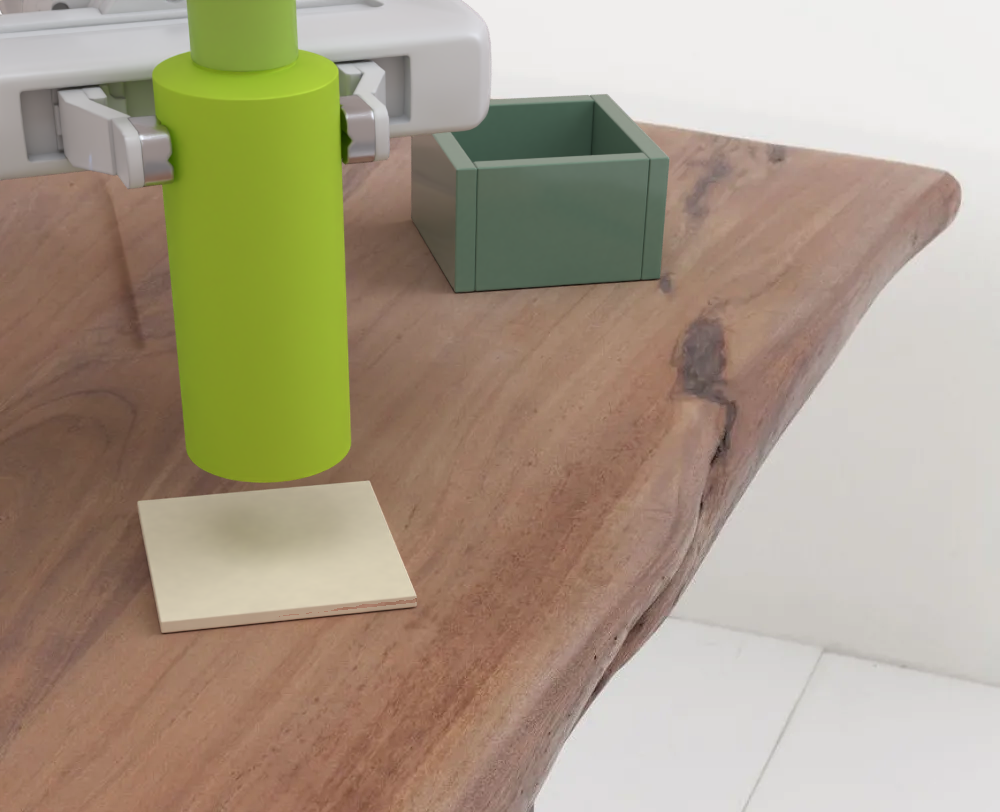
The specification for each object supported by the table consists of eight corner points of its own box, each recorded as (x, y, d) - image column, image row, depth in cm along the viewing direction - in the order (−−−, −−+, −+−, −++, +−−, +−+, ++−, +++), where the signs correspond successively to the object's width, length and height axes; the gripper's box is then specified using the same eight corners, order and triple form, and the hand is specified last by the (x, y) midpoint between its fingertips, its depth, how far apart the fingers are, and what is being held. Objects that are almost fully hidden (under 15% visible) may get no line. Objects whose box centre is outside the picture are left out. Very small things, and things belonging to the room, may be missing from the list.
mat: (161, 633, 65) (160, 621, 65) (137, 512, 72) (136, 500, 72) (417, 607, 67) (417, 595, 67) (369, 491, 74) (369, 479, 74)
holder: (454, 293, 91) (456, 169, 87) (410, 218, 99) (410, 102, 95) (660, 279, 93) (670, 157, 89) (601, 207, 101) (607, 93, 97)
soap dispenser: (216, 508, 64) (163, -138, 52) (169, 422, 69) (111, -183, 57) (381, 481, 65) (367, -150, 53) (323, 399, 70) (298, -193, 59)
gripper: (-147, -34, 65) (-89, 79, 55) (410, -73, 71) (556, 21, 61) (-116, 149, 69) (-55, 286, 58) (411, 96, 75) (549, 211, 65)
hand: (263, 150), depth 60 cm, fingers closed on soap dispenser, 6 cm apart
